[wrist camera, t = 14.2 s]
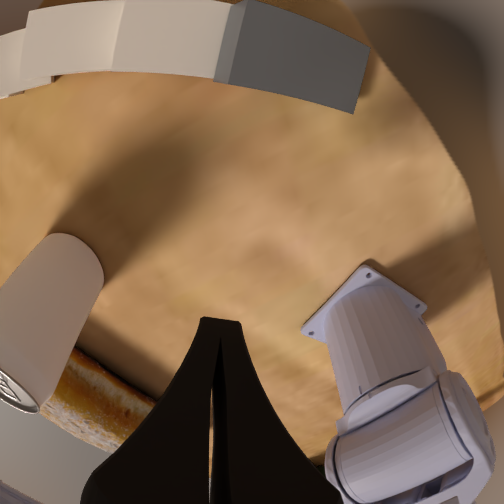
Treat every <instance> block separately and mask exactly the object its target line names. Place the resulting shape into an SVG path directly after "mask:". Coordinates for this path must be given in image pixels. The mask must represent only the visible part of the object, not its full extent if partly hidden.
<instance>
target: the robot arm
mask: <svg viewBox="0 0 504 504" xmlns="http://www.w3.org/2000/svg"><path fill="white" fill-rule="evenodd" d="M368 273H370V274H369V275H367V274H368ZM426 310H427V305H426V304H425V303H424V302H422V301H421V300H420V299H418V298H417V297H415V296H414V295H412V294H411V293H409V292H408V291H406V290H405V289H403V288H402V287H400V286H399V285H397V284H396V283H394V282H393V281H391V280H390V279H388V278H386V277H385V276H383V275H382V274H380V273H379V272H377V271H376V270H374V269H373V268H371V267H369V266H368V265H362V266H360V267H359V268H358V269H357V270H356V271H355V272H354V273H353V274H352V275H351V277H350V278H349V279H348V280H347V281H346V282H345V283H344V284H343V285H342V286H341V287H340V288H339V289H338V290H337V291H336V293H335V294H334V295H333V296H332V297H331V298H330V299H329V300H328V301H327V302H326V303H325V304H324V305H323V306H322V307H321V308H320V309H319V310H318V311H317V312H316V313H315V314H314V315H313V316H312V317H311V318H310V319H309V320H308V321H307V322H306V323H305V324H304V325H303V326H302V327H301V333H302V334H303V335H305V336H308V337H311V338H313V339H316V340H318V341H321V342H324V343H326V344H327V346H328V350H329V354H330V358H331V362H332V366H333V370H334V374H335V379H336V383H337V387H338V391H339V395H340V400H341V404H342V409H343V413H344V416H343V417H342V418H341V419H339V420H337V421H336V427H337V432H338V434H337V435H335V436H334V437H333V438H332V439H331V440H330V442H329V444H328V446H327V449H326V454H325V474H326V478H327V479H326V478H325V477H324V476H323V475H322V474H321V472H320V471H319V470H318V469H317V468H316V467H315V466H314V465H313V464H312V462H311V461H310V460H309V459H308V458H307V457H306V455H305V454H304V453H303V451H302V450H301V449H300V448H299V446H298V445H297V444H296V442H295V441H294V440H293V438H292V437H291V436H290V434H289V433H288V431H287V430H286V428H285V427H284V425H283V424H282V422H281V420H280V419H279V417H278V415H277V414H276V412H275V410H274V409H273V407H272V405H271V403H270V401H269V399H268V397H267V395H266V393H265V391H264V389H263V387H262V385H261V383H260V380H259V378H258V376H257V373H256V371H255V368H254V366H253V363H252V361H251V358H250V355H249V352H248V349H247V346H246V343H245V339H244V335H243V331H242V326H241V323H240V322H239V321H232V320H225V319H218V318H211V317H205V316H204V317H202V318H200V323H199V326H198V329H197V332H196V335H195V337H194V340H193V342H192V344H191V347H190V349H189V351H188V353H187V354H186V356H185V358H184V360H183V362H182V364H181V366H180V368H179V369H178V371H177V373H176V374H175V376H174V378H173V379H172V381H171V383H170V384H169V386H168V387H167V389H166V390H165V392H164V393H163V395H162V396H161V398H160V399H159V400H158V402H157V403H156V405H155V406H154V407H153V409H152V410H151V411H150V412H149V414H148V415H147V416H146V418H145V419H144V420H143V421H142V422H141V424H140V425H139V426H138V427H137V428H136V430H135V431H134V432H133V433H132V434H131V435H130V436H129V437H128V438H127V439H126V440H125V441H124V442H123V444H122V445H121V446H120V447H119V448H118V449H117V450H116V451H115V452H114V453H113V454H112V455H111V456H109V458H107V459H106V460H105V461H104V462H103V463H102V464H101V465H100V466H98V467H97V468H96V469H95V470H94V471H93V472H92V474H91V476H90V477H89V479H88V481H87V483H86V484H85V487H84V489H83V492H82V495H81V501H80V504H476V502H475V499H476V497H477V495H478V494H479V493H480V492H481V490H482V489H483V488H484V486H485V485H486V483H487V482H488V480H489V479H490V477H491V476H492V473H493V471H494V463H495V460H496V454H495V447H494V443H493V440H492V437H491V435H490V433H489V430H488V426H487V423H486V420H485V418H484V415H483V412H482V410H481V408H480V406H479V404H478V402H477V400H476V398H475V396H474V394H473V392H472V390H471V388H470V387H469V385H468V384H467V382H466V381H465V379H464V378H463V377H462V375H461V374H460V373H457V372H451V371H450V370H447V366H446V362H445V359H444V357H443V355H442V353H441V351H440V349H439V347H438V345H437V344H436V342H435V340H434V338H433V336H432V334H431V332H430V331H429V329H428V327H427V325H426V323H425V322H424V320H423V318H422V316H421V315H422V314H423V313H424V312H425V311H426ZM311 331H312V332H311ZM211 390H212V405H213V454H212V471H211V487H210V503H209V427H210V402H211ZM0 504H43V503H41V502H39V501H37V500H35V499H33V498H31V497H29V496H27V495H25V494H23V493H21V492H19V491H18V490H16V489H14V488H12V487H10V486H9V485H7V484H5V483H3V482H2V480H0Z"/></svg>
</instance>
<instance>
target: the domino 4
mask: <svg viewBox="0 0 504 504" xmlns="http://www.w3.org/2000/svg"><path fill="white" fill-rule="evenodd" d="M370 49H371V48H370V47H368V46H366V45H364V44H363V43H361V42H359V41H357V40H355V39H353V38H351V37H349V36H347V35H345V34H343V33H341V32H338V31H336V30H334V29H332V28H330V27H327V26H325V25H323V24H320V23H318V22H316V21H313V20H311V19H308V18H306V17H303V16H301V15H298V14H295V13H293V12H290V11H287V10H284V9H281V8H278V7H275V6H272V5H269V4H266V3H263V2H259V1H256V0H243V1H241V2H239V3H236V4H234V5H232V6H231V7H230V11H229V15H228V18H227V22H226V27H225V31H224V35H223V39H222V43H221V48H220V52H219V57H218V61H217V66H216V70H215V75H214V80H213V82H218V83H224V84H230V85H236V86H242V87H247V88H253V89H258V90H263V91H268V92H273V93H277V94H282V95H286V96H290V97H294V98H298V99H302V100H306V101H310V102H314V103H317V104H321V105H324V106H328V107H331V108H334V109H338V110H341V111H344V112H347V113H350V114H354V110H355V106H356V103H357V99H358V95H359V92H360V88H361V84H362V80H363V77H364V73H365V69H366V65H367V61H368V57H369V53H370Z"/></svg>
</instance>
